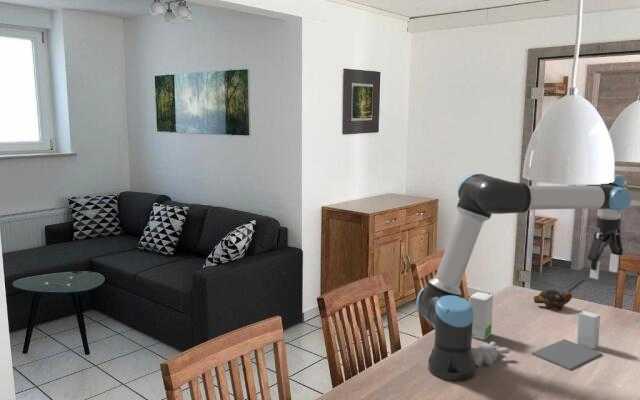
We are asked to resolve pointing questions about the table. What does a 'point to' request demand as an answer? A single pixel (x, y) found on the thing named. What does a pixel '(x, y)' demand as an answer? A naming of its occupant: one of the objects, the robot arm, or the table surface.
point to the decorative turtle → (553, 299)
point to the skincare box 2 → (588, 329)
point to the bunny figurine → (487, 353)
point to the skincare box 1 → (481, 315)
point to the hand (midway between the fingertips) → (603, 274)
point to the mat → (567, 354)
